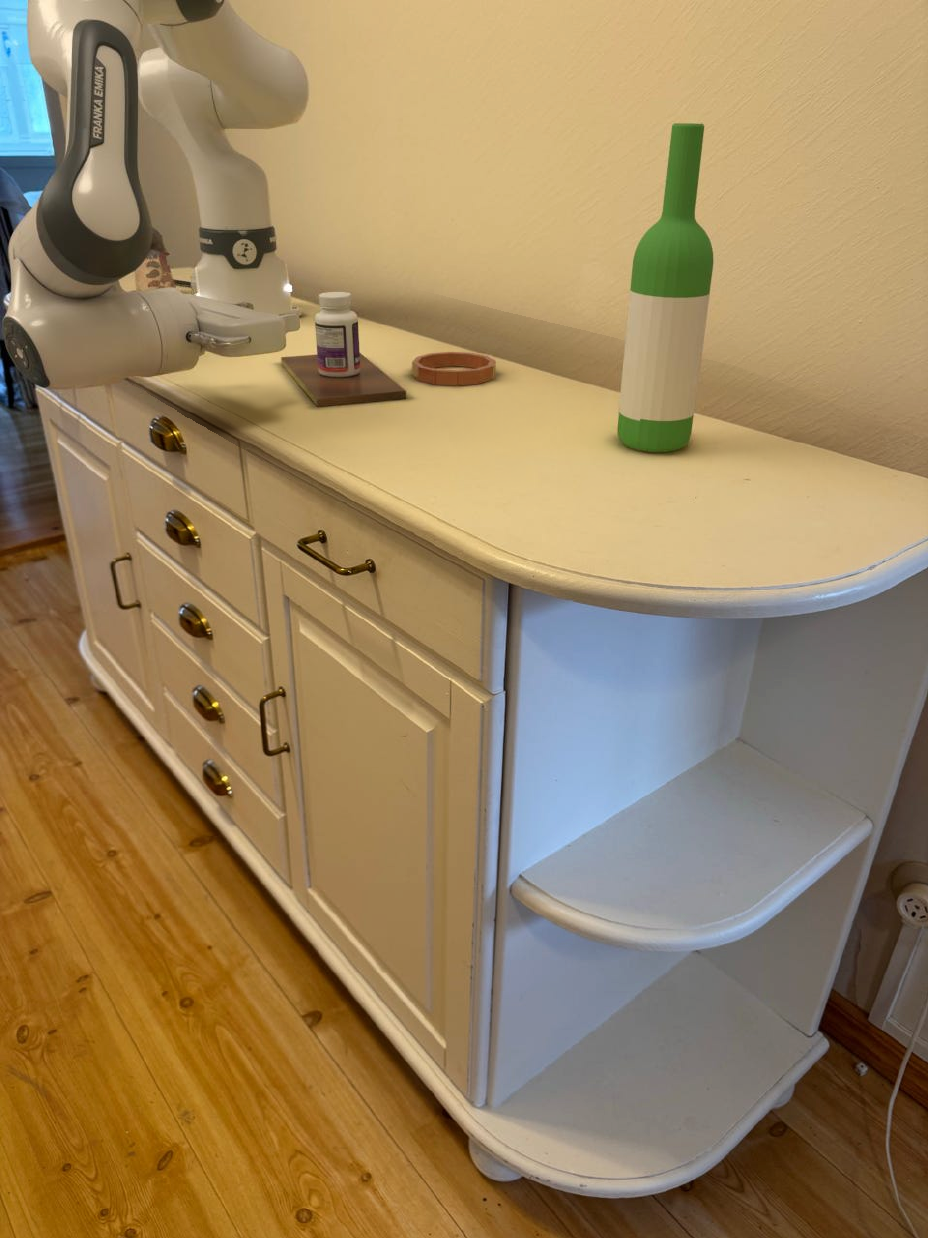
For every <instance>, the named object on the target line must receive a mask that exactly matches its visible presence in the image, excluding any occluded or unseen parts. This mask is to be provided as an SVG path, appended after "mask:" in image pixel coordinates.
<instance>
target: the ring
mask: <svg viewBox="0 0 928 1238" xmlns="http://www.w3.org/2000/svg"><path fill="white" fill-rule="evenodd" d="M496 366H497V361H496V360H495V359H493V358H492V357H490V356H488V355H484V354H481V353H474V352H465V351H464V352H463V351H462V352H461V351H445V352H444V351H443V352H441V351H440V352H430V353H426V354H423V355H422V354H421V355H418V356H416V357H415V358H414V359H413V360H412V362H411V376H412V377H413V378H414V379H416V380H417V381H419V382H421V383H427V384H431V385H437V386H451V387H452V386H453V387H456V386H458V387H461V386H471V385H480V384H483V383H487V382H491V381H492V380H494V378H495V377H496V373H497V371H496V369H497V367H496ZM445 367H446V368H447V367H461V368H467V369H441V368H445ZM439 368H440V369H439ZM469 368H470V369H469Z"/></svg>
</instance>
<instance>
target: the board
mask: <svg viewBox="0 0 928 1238" xmlns="http://www.w3.org/2000/svg"><path fill="white" fill-rule="evenodd" d="M280 362H281V366H282V367H283V368H284V369H285V370H286V371H287V373H288V374H289V375H290V376H291V377H292V378H293V380H294V381H295V382H296V383H297V385H298V386H299V387H300V388H301V389H302V390H303V392H305V394H306V395H307V396H308V397H309V399H310V400H311V401H312V402H313V403H314V404H315V405H316V407H317V408H319V407H330V406H340V405H341V406H342V405H352V404H362V403H363V404H364V403H372V402H373V403H374V402H375V403H376V402H384V401H386V402H387V401H394V400H395V401H396V400H405V399H407V390H406V389H405V388H403V387H402V386H401V385H399V384H398V383H397V382H396V381H395V380H394V379H392V378H391V377H390V376H389V375H388V374H386V373H385V372H384V371H383V370H382V369H380V368H379V367H378V366H377V365H375V364H374V363H373V362H372V361H371V360H370V359H369V358H367V357H366V356H365V355H364V354H362V353H361V352H360V372H359V373H358V374H356V375H354V376H349V377H342V378H336V377H327V376H323V375H321V374H320V373H319V369H318V356H317V354H305V355H293V356H281V357H280Z"/></svg>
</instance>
